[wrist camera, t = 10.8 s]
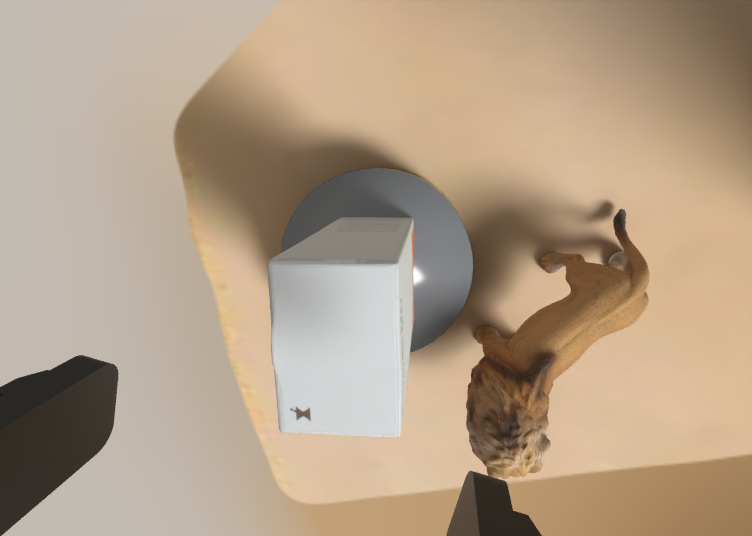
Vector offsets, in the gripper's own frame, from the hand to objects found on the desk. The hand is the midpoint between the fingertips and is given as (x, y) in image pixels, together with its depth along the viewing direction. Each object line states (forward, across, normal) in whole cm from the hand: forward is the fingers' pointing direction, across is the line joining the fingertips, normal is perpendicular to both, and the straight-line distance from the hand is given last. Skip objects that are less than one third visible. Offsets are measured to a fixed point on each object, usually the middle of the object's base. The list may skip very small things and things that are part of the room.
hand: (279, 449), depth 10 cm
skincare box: (+17, 0, 0) cm, 17 cm away
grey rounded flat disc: (+19, 0, 0) cm, 19 cm away
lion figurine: (+20, -10, +1) cm, 22 cm away
